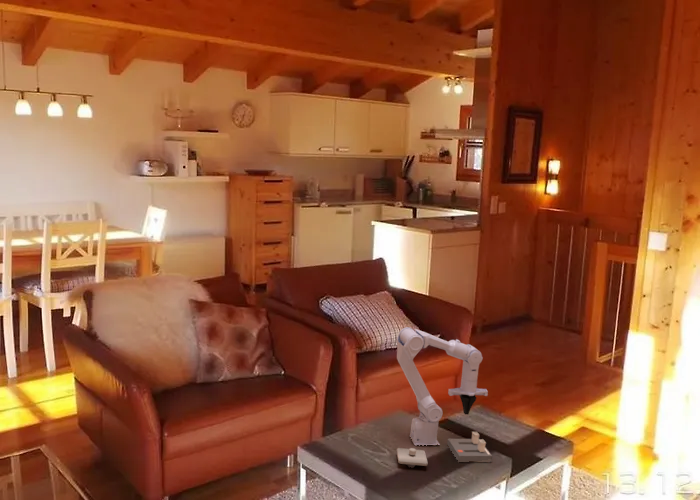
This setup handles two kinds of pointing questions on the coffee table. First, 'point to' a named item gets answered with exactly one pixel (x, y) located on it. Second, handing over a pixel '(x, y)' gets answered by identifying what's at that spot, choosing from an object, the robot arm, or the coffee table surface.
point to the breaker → (475, 437)
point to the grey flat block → (467, 450)
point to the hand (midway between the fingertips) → (465, 413)
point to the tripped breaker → (481, 445)
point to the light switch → (411, 457)
